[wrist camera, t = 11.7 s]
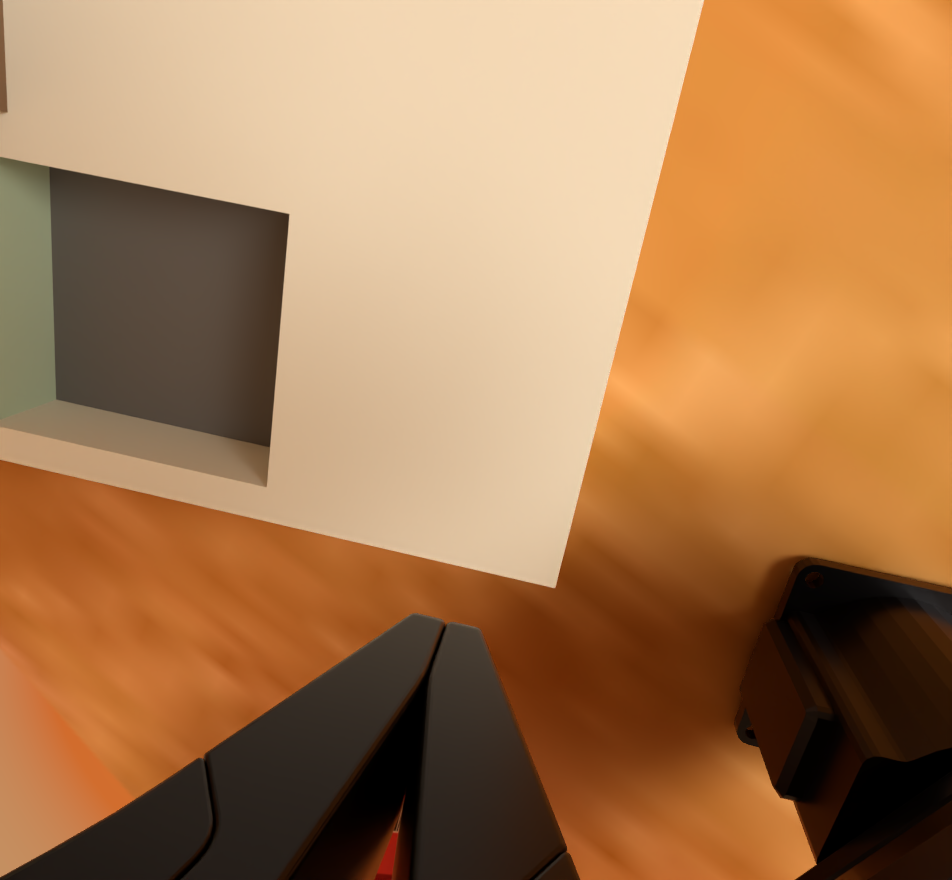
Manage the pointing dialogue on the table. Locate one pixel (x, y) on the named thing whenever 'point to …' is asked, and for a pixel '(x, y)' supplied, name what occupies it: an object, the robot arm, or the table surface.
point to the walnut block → (2, 64)
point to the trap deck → (330, 254)
